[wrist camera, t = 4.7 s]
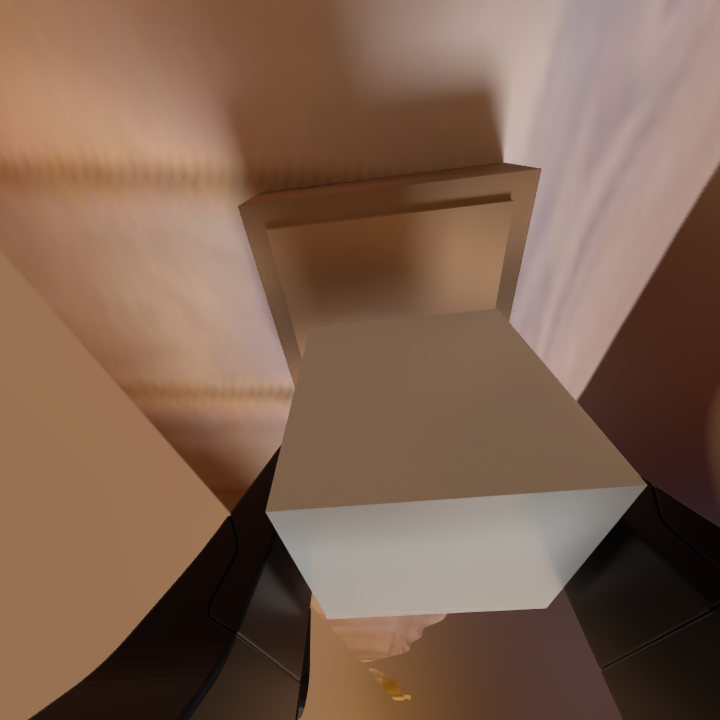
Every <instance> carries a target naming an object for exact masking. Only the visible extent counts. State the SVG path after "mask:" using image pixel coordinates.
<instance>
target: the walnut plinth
mask: <svg viewBox="0 0 720 720" xmlns="http://www.w3.org/2000/svg"><path fill="white" fill-rule="evenodd" d="M540 173H541V169H540V168H534V167H527V166H521V165H515V164H509V163H498V164H490V165H482V166H474V167H466V168H458V169H451V170H443V171H435V172H427V173H419V174H411V175H403V176H395V177H387V178H379V179H371V180H363V181H355V182H347V183H339V184H331V185H323V186H315V187H307V188H299V189H291V190H283V191H275V192H267V193H260V194H259V195H257V196H255V197H253V198H252V199H250V200H248V201H246V202H245V203H243V204H241V205H239V206H238V208H239V211H240V214H241V217H242V220H243V224H244V227H245V230H246V233H247V236H248V240H249V243H250V246H251V249H252V252H253V255H254V259H255V262H256V265H257V268H258V271H259V275H260V278H261V281H262V284H263V287H264V290H265V294H266V297H267V300H268V303H269V306H270V310H271V313H272V316H273V319H274V322H275V325H276V329H277V332H278V335H279V338H280V341H281V345H282V348H283V351H284V354H285V357H286V360H287V364H288V367H289V370H290V373H291V376H292V379H293V383H294V386H295V387H296V383H297V379H298V374H299V370H300V366H301V362H302V358H303V354H304V349H305V345H306V341H307V337H308V333H309V329H310V328H312V327H322V326H331V325H341V324H351V323H361V322H371V321H381V320H390V319H400V318H410V317H420V316H430V315H439V314H449V313H459V312H469V311H479V310H488V309H498V310H499V311H500V312H501V313H502V315H503V316H504V317H505V318H506V319H507V320H508V322H509V318H510V314H511V309H512V304H513V299H514V295H515V290H516V285H517V281H518V276H519V271H520V267H521V262H522V257H523V253H524V248H525V243H526V239H527V234H528V229H529V224H530V220H531V215H532V210H533V206H534V201H535V196H536V192H537V187H538V182H539V178H540Z"/></svg>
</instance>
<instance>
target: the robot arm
mask: <svg viewBox="0 0 720 720" xmlns="http://www.w3.org/2000/svg"><path fill="white" fill-rule="evenodd" d="M281 445H282V444H281ZM280 449H281V446H280V447H279V448H278V450H277V451H276V452H275V454H274V455H273V456H272V458H271V459H270V460H269V462H268V463H267V464H266V466H265V467H264V469H263V470H262V471H261V473H260V474H259V475H258V477H257V478H256V479H255V481H254V482H253V483H252V485H251V486H250V487H249V489H248V490H247V491H246V493H245V494H244V495H243V497H242V498H241V500H240V501H239V502H238V504H237V505H236V506H235V508H234V509H233V510H232V512H231V516H228V517H227V518H226V520H225V521H224V522H223V524H222V525H221V527H220V528H219V529H218V530H217V532H216V533H215V534H214V535H213V537H212V538H211V539H210V541H209V542H208V543H207V545H206V546H205V547H204V548H203V550H202V551H201V552H200V553H199V555H198V556H197V557H196V558H195V560H194V561H193V562H192V563H191V564H190V566H189V567H188V568H187V569H186V570H185V571H184V572H183V574H182V575H181V576H180V577H179V578H178V580H177V581H176V582H175V583H174V584H173V585H172V586H171V588H170V589H169V590H168V591H167V592H166V593H165V594H164V596H163V597H162V598H161V599H160V600H159V601H158V603H157V604H156V605H155V606H154V607H153V608H152V609H151V610H150V612H149V613H148V614H147V615H146V616H145V617H144V619H143V620H142V621H141V622H140V623H139V624H138V625H137V627H136V628H135V629H134V630H133V631H132V632H131V633H130V635H129V636H128V637H127V638H126V639H125V640H124V641H123V642H122V643H121V645H120V646H119V647H118V648H117V649H116V650H115V651H114V652H113V653H112V654H111V655H110V656H109V657H108V658H107V659H106V660H105V661H104V662H103V663H102V664H101V665H99V666H98V667H97V668H96V669H95V670H94V671H93V672H92V673H90V674H89V675H88V676H87V677H86V678H84V679H83V680H82V681H81V682H80V683H78V684H77V685H76V686H74V687H73V688H71V689H70V690H69V691H67V692H66V693H64V694H63V695H62V696H60V697H59V698H58V699H56V700H55V701H54V702H52V703H51V704H49V705H48V706H46V707H45V708H44V709H43V710H41V711H39V712H38V713H37V714H35V715H34V716H32V717H31V718H30V719H28V720H298V719H300V718H301V716H302V714H303V710H304V707H305V702H306V698H307V692H308V684H309V672H310V619H311V609H310V603H311V595H312V591H311V590H310V588H309V586H308V584H307V583H306V581H305V579H304V577H303V576H302V574H301V572H300V571H299V569H298V567H297V565H296V564H295V562H294V560H293V559H292V557H291V555H290V553H289V552H288V550H287V548H286V547H285V545H284V543H283V541H282V540H281V538H280V536H279V534H278V533H277V531H276V529H275V528H274V526H273V524H272V522H271V521H270V519H269V517H268V516H267V514H266V507H267V503H268V499H269V495H270V491H271V487H272V482H273V478H274V474H275V470H276V466H277V462H278V457H279V453H280ZM639 476H640V475H639ZM640 477H641V476H640ZM641 478H642V479H643V481H644V482H645V483H646V484H647V486H646V487H645V489H644V490H643V491H642V492H641V494H640V495H639V496H638V497H637V498H636V500H635V501H634V502H633V503H632V505H631V506H630V507H629V508H628V509H627V511H626V512H625V513H624V514H623V515H622V517H621V518H620V519H619V520H618V522H617V523H616V524H615V525H614V526H613V528H612V529H611V530H610V531H609V533H608V534H607V535H606V536H605V537H604V539H603V540H602V541H601V542H600V543H599V545H598V546H597V547H596V548H595V550H594V551H593V552H592V553H591V554H590V556H589V557H588V558H587V559H586V561H585V562H584V563H583V564H582V565H581V567H580V568H579V569H578V570H577V572H576V573H575V574H574V575H573V576H572V578H571V579H570V580H569V581H568V582H567V584H566V585H565V586H564V587H563V588H564V590H565V592H566V595H567V597H568V599H569V601H570V603H571V606H572V608H573V610H574V612H575V615H576V617H577V619H578V621H579V624H580V626H581V628H582V630H583V632H584V635H585V637H586V639H587V641H588V644H589V646H590V648H591V650H592V652H593V655H594V657H595V659H596V661H597V663H598V666H599V668H601V673H602V675H603V677H604V680H605V682H606V684H607V686H608V688H609V691H610V693H611V695H612V697H613V700H614V702H615V704H616V706H617V708H618V711H619V713H620V715H621V717H622V720H720V527H719V526H717V525H715V524H714V523H712V522H710V521H709V520H707V519H706V518H704V517H703V516H701V515H699V514H698V513H696V512H695V511H693V510H692V509H690V508H689V507H687V506H685V505H684V504H682V503H681V502H679V501H678V500H676V499H675V498H673V497H672V496H670V495H669V494H667V493H666V492H664V491H663V490H661V489H660V488H658V487H656V486H653V485H652V484H651V483H650V482H649V481H647V480H646V479H644V478H643V477H641Z"/></svg>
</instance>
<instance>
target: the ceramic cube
mask: <svg viewBox="0 0 720 720" xmlns="http://www.w3.org/2000/svg"><path fill="white" fill-rule="evenodd" d="M646 486H647V484H646V483H645V482H644V481H643V479H642V478H641V477H640V476H639V475H638V474H637V473H636V471H635V470H634V469H633V468H632V466H631V465H630V464H629V463H628V462H627V461H626V459H625V458H624V457H623V456H622V455H621V454H620V452H619V451H618V450H617V449H616V448H615V446H614V445H613V444H612V443H611V442H610V441H609V439H608V438H607V437H606V436H605V435H604V434H603V432H602V431H601V430H600V429H599V428H598V426H597V425H596V424H595V423H594V422H593V421H592V419H591V418H590V417H589V416H588V415H587V413H586V412H585V411H584V410H583V409H582V408H581V406H580V405H579V404H578V403H577V402H576V401H575V399H574V398H573V397H572V396H571V395H570V393H569V392H568V391H567V390H566V389H565V388H564V386H563V385H562V384H561V383H560V382H559V381H558V379H557V378H556V377H555V376H554V375H553V373H552V372H551V371H550V370H549V369H548V368H547V366H546V365H545V364H544V363H543V362H542V361H541V359H540V358H539V357H538V356H537V355H536V353H535V352H534V351H533V350H532V349H531V348H530V346H529V345H528V344H527V343H526V342H525V341H524V339H523V338H522V337H521V336H520V335H519V333H518V332H517V331H516V330H515V329H514V328H513V326H512V325H511V324H510V323H509V322H508V320H507V319H506V318H505V317H504V316H503V315H502V313H501V312H500V311H499V310H498V309H488V310H479V311H469V312H459V313H449V314H439V315H430V316H420V317H410V318H400V319H390V320H381V321H371V322H361V323H351V324H341V325H331V326H322V327H312V328H310V329H309V333H308V337H307V341H306V345H305V349H304V354H303V358H302V362H301V366H300V370H299V374H298V379H297V383H296V387H295V391H294V395H293V399H292V403H291V408H290V412H289V416H288V420H287V424H286V428H285V433H284V437H283V441H282V445H281V449H280V453H279V457H278V462H277V466H276V470H275V474H274V478H273V482H272V487H271V491H270V495H269V499H268V503H267V507H266V514H267V516H268V517H269V519H270V521H271V522H272V524H273V526H274V528H275V529H276V531H277V533H278V534H279V536H280V538H281V540H282V541H283V543H284V545H285V547H286V548H287V550H288V552H289V553H290V555H291V557H292V559H293V560H294V562H295V564H296V565H297V567H298V569H299V571H300V572H301V574H302V576H303V577H304V579H305V581H306V583H307V584H308V586H309V588H310V590H311V591H312V593H313V595H314V596H315V598H316V600H317V602H318V603H319V605H320V607H321V608H322V610H323V612H324V614H325V615H326V617H327V619H342V618H362V617H382V616H401V615H421V614H441V613H461V612H479V611H500V610H520V609H540V608H547V607H548V606H549V604H550V603H551V602H552V601H553V599H554V598H555V597H556V596H557V595H558V593H559V592H560V591H561V590H562V589H563V587H564V586H565V585H566V584H567V582H568V581H569V580H570V579H571V578H572V576H573V575H574V574H575V573H576V572H577V570H578V569H579V568H580V567H581V565H582V564H583V563H584V562H585V561H586V559H587V558H588V557H589V556H590V554H591V553H592V552H593V551H594V550H595V548H596V547H597V546H598V545H599V543H600V542H601V541H602V540H603V539H604V537H605V536H606V535H607V534H608V533H609V531H610V530H611V529H612V528H613V526H614V525H615V524H616V523H617V522H618V520H619V519H620V518H621V517H622V515H623V514H624V513H625V512H626V511H627V509H628V508H629V507H630V506H631V505H632V503H633V502H634V501H635V500H636V498H637V497H638V496H639V495H640V494H641V492H642V491H643V490H644V489H645V487H646Z"/></svg>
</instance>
